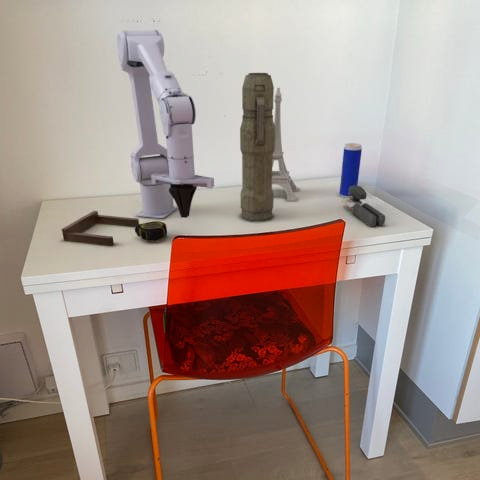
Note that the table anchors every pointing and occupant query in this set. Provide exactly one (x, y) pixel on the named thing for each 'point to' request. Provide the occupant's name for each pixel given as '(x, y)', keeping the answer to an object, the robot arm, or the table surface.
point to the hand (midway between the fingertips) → (185, 216)
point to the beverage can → (350, 168)
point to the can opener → (363, 207)
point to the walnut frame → (84, 223)
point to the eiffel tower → (281, 156)
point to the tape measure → (151, 230)
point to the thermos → (257, 147)
